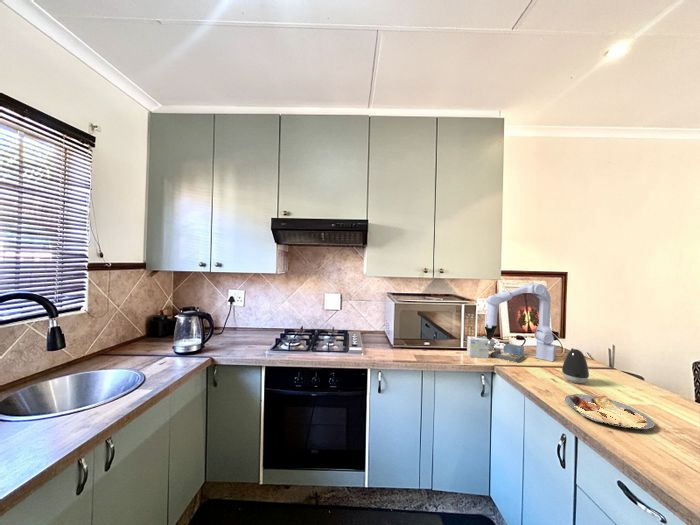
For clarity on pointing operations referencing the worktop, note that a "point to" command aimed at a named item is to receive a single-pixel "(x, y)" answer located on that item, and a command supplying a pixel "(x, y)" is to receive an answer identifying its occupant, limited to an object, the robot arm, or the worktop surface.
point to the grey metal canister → (491, 344)
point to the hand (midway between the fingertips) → (489, 338)
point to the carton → (513, 349)
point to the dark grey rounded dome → (575, 367)
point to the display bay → (496, 355)
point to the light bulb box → (477, 347)
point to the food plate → (604, 407)
